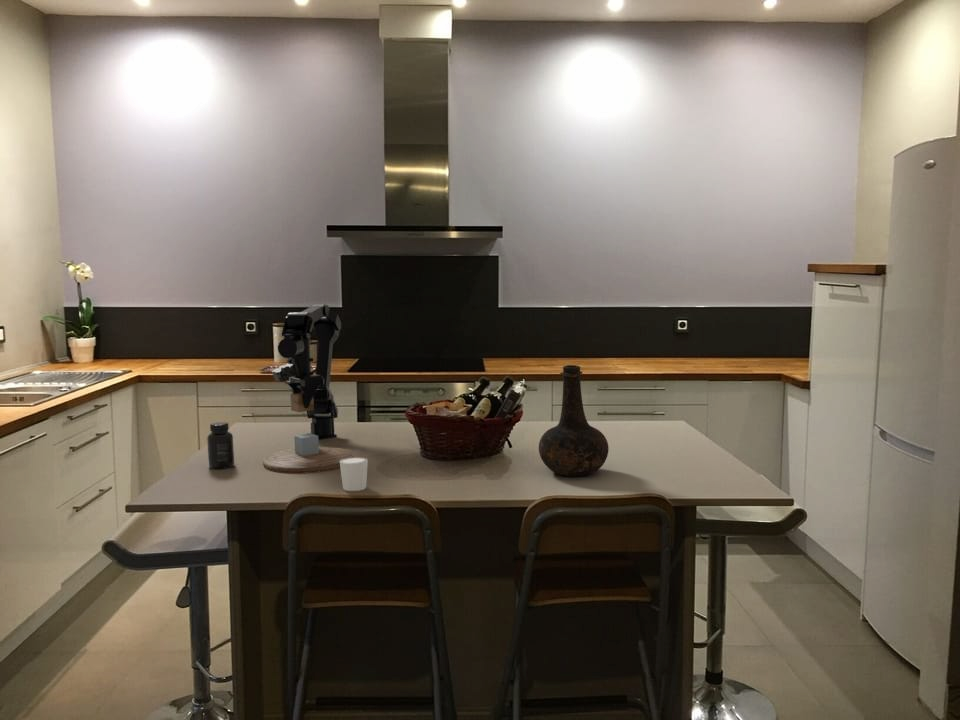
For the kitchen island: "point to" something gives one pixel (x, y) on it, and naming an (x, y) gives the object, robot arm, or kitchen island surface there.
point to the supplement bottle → (220, 446)
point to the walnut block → (300, 403)
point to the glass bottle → (573, 434)
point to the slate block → (306, 444)
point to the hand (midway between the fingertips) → (302, 406)
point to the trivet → (306, 460)
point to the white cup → (354, 473)
